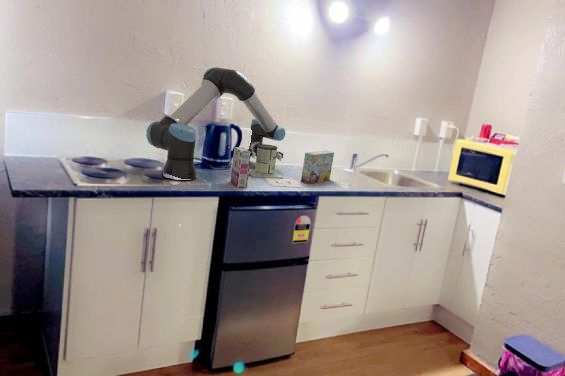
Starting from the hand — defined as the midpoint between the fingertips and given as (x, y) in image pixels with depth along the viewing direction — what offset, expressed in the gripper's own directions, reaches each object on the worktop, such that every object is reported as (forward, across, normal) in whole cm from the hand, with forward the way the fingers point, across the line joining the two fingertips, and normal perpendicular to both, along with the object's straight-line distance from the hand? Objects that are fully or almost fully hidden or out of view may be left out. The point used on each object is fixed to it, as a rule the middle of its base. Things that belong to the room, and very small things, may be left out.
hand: (267, 157), depth 247 cm
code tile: (+14, -6, -10) cm, 18 cm away
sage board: (-3, 0, -10) cm, 10 cm away
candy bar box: (+24, +18, -10) cm, 31 cm away
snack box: (+4, -26, -10) cm, 28 cm away
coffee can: (-3, 0, -9) cm, 10 cm away
